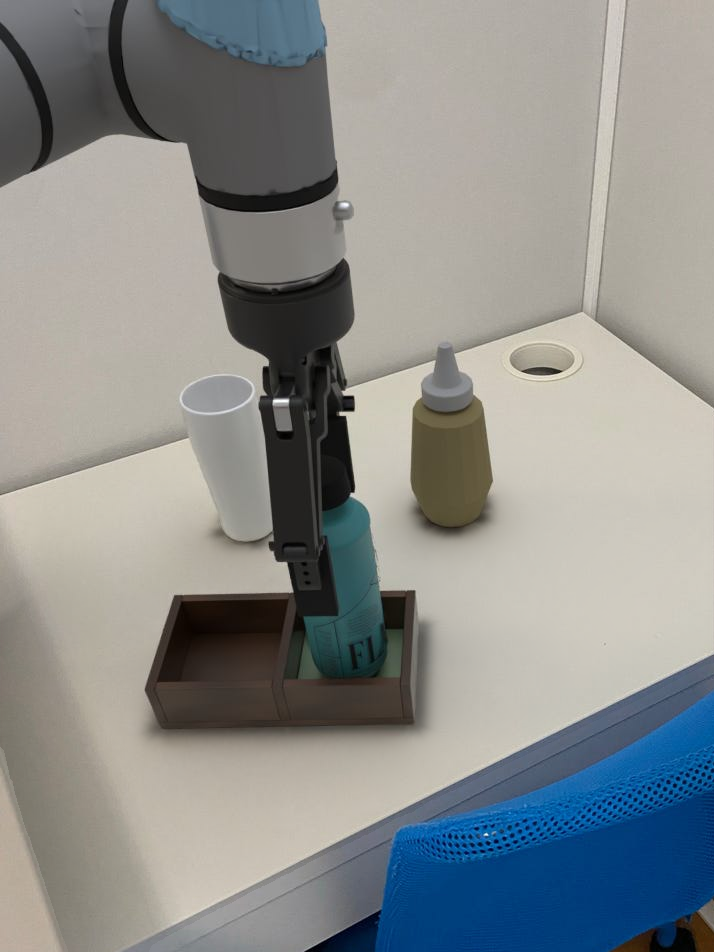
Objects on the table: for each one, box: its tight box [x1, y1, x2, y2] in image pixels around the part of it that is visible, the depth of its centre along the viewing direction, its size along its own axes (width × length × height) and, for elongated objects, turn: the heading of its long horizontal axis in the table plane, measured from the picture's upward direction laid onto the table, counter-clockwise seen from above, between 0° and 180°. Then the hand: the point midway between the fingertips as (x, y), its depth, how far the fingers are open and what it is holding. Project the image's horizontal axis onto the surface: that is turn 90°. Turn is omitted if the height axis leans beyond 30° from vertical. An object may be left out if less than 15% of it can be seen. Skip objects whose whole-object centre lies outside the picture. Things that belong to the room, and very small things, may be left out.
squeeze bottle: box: [409, 341, 494, 528], centre depth 87 cm, size 8×8×18 cm
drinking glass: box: [178, 373, 273, 542], centre depth 87 cm, size 7×7×15 cm
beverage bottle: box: [301, 455, 389, 679], centre depth 71 cm, size 6×7×20 cm
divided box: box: [143, 589, 420, 729], centre depth 77 cm, size 20×11×5 cm, turn 90°
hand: (329, 547), depth 69 cm, fingers open, 13 cm apart
